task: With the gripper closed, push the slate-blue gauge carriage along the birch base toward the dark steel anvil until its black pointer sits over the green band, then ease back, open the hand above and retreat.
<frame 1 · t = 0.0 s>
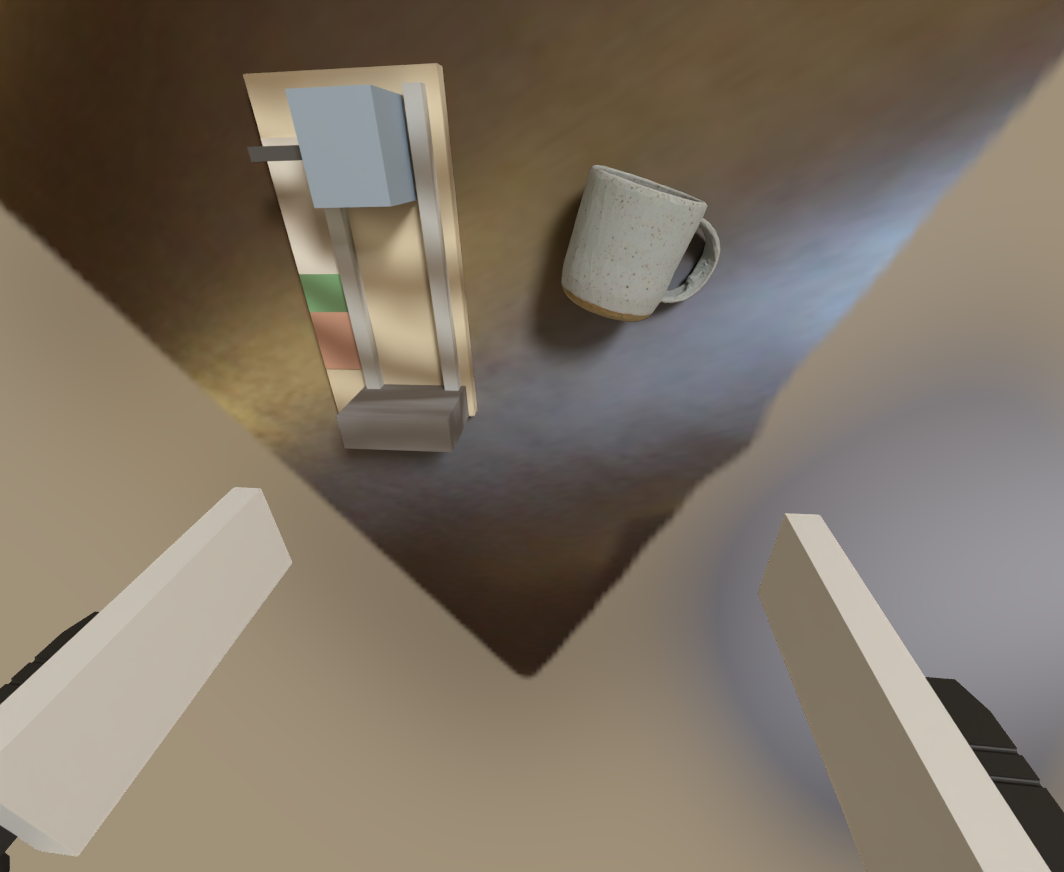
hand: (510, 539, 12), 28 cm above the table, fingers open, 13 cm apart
gauge base: (383, 270, 36), on the table
ceramic mug: (640, 239, 34), on the table
carriage: (326, 152, 29), point 4 cm above the table, slide at 0.0 cm
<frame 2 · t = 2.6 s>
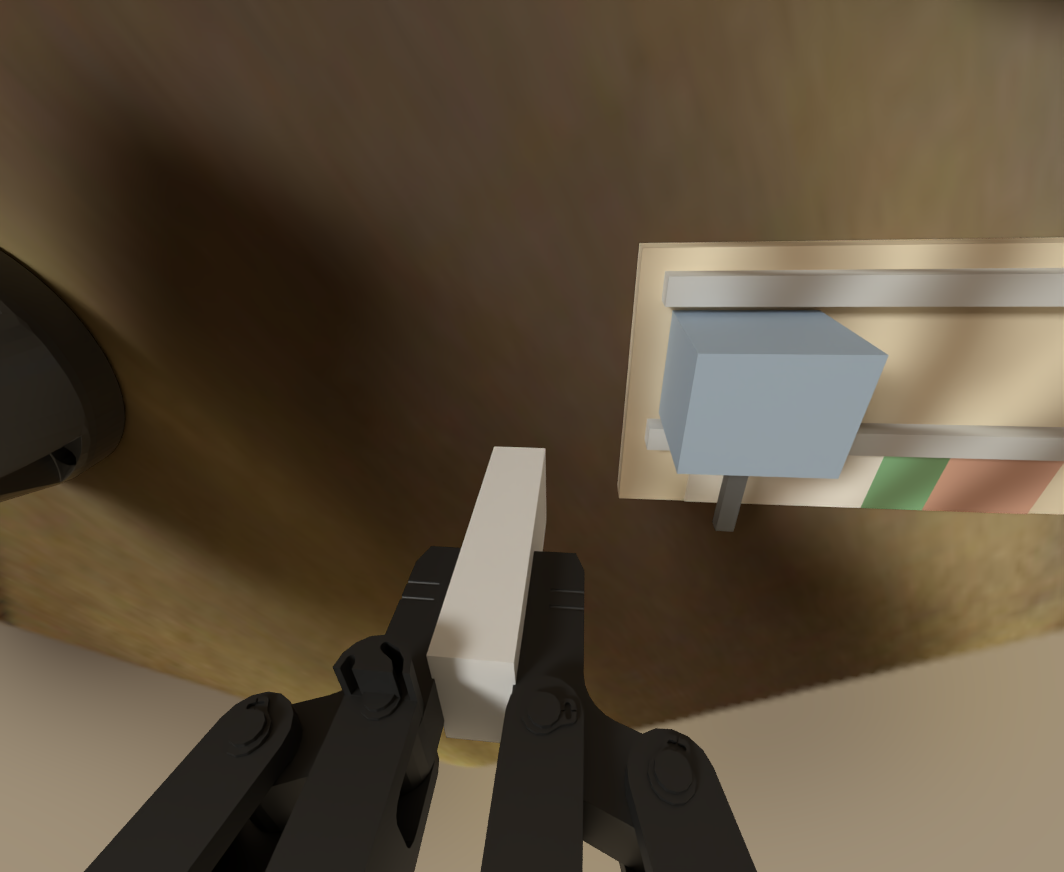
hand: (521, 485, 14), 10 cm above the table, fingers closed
gauge base: (892, 385, 22), on the table
carriage: (739, 434, 20), point 4 cm above the table, slide at 0.0 cm
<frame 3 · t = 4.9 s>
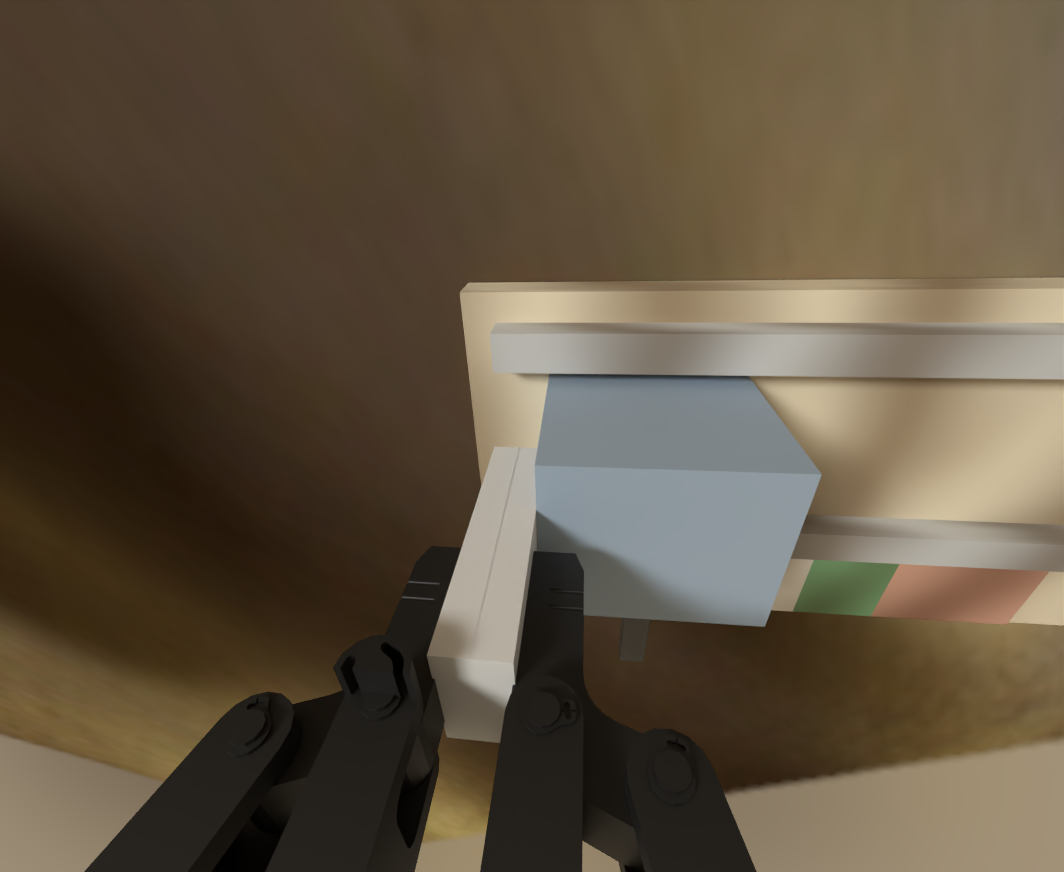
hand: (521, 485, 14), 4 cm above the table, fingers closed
gauge base: (824, 464, 16), on the table
carriage: (641, 543, 14), point 4 cm above the table, slide at 1.1 cm, touching gripper
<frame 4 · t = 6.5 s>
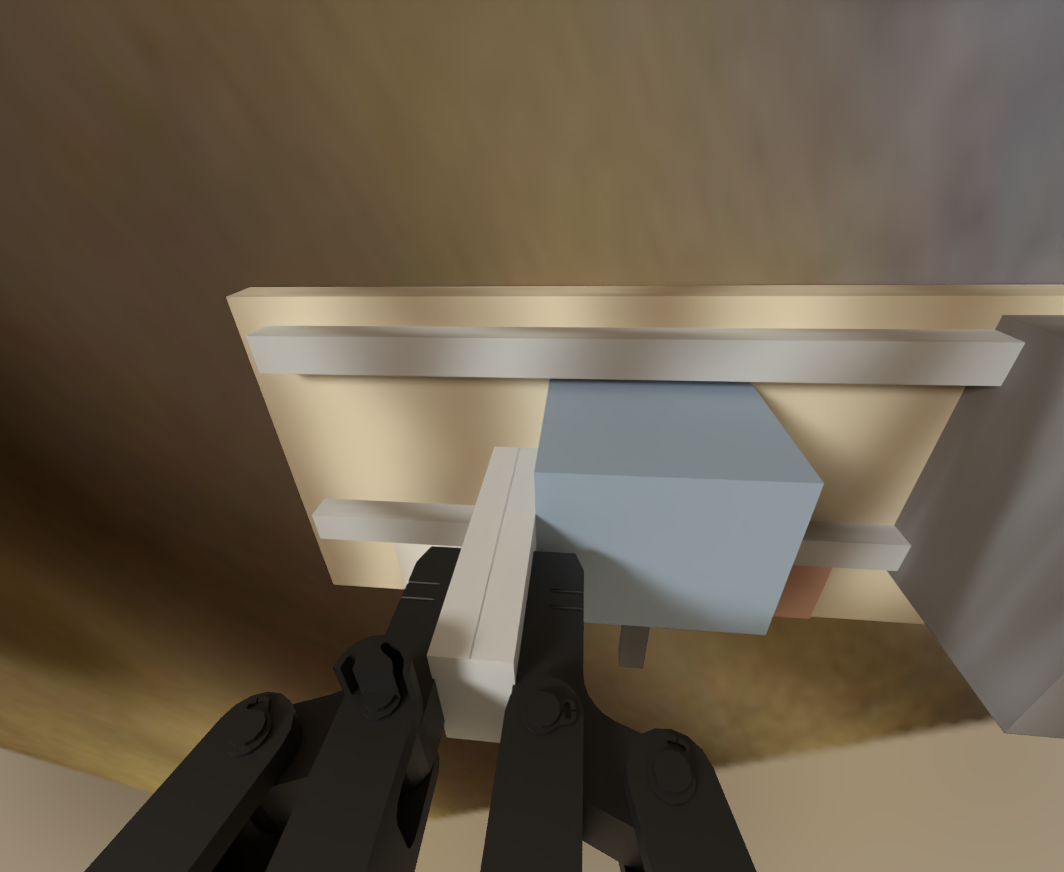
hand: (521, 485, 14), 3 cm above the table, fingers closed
gauge base: (619, 462, 17), on the table
carriage: (641, 549, 14), point 4 cm above the table, slide at 8.5 cm, touching gripper
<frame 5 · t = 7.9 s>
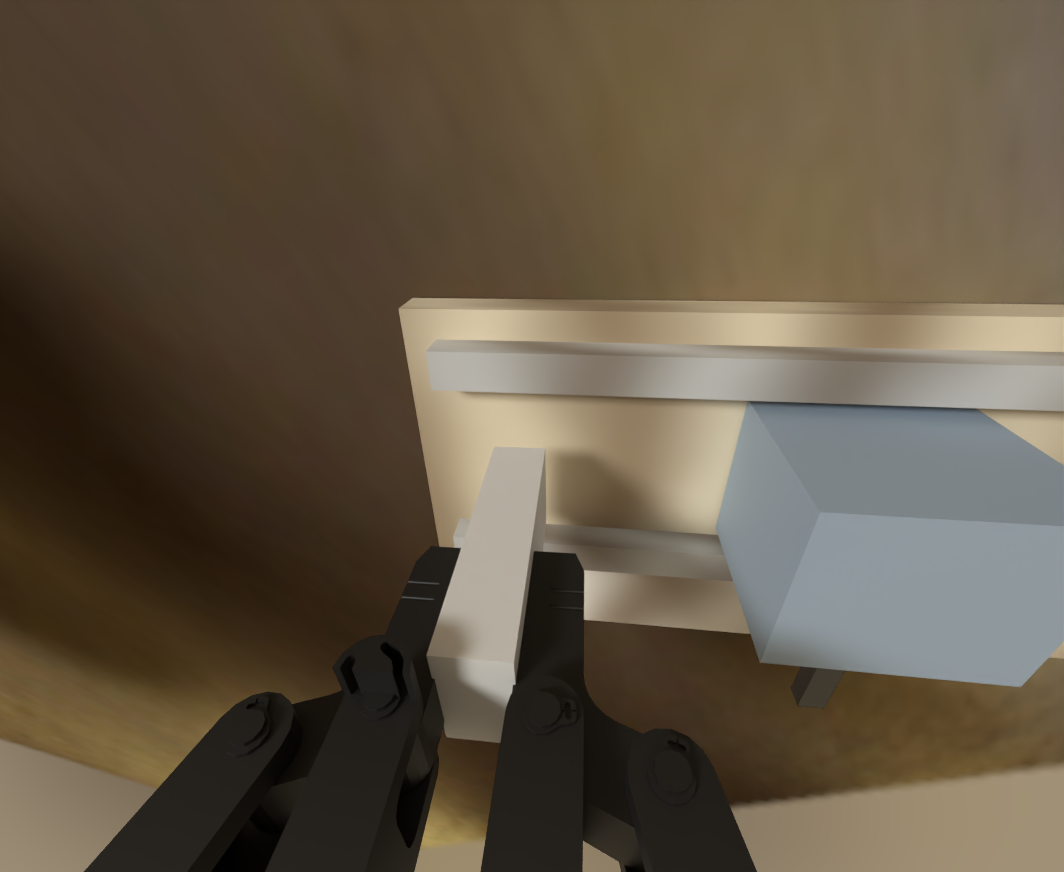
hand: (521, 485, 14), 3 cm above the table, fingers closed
gauge base: (779, 486, 16), on the table
carriage: (844, 584, 13), point 4 cm above the table, slide at 8.7 cm
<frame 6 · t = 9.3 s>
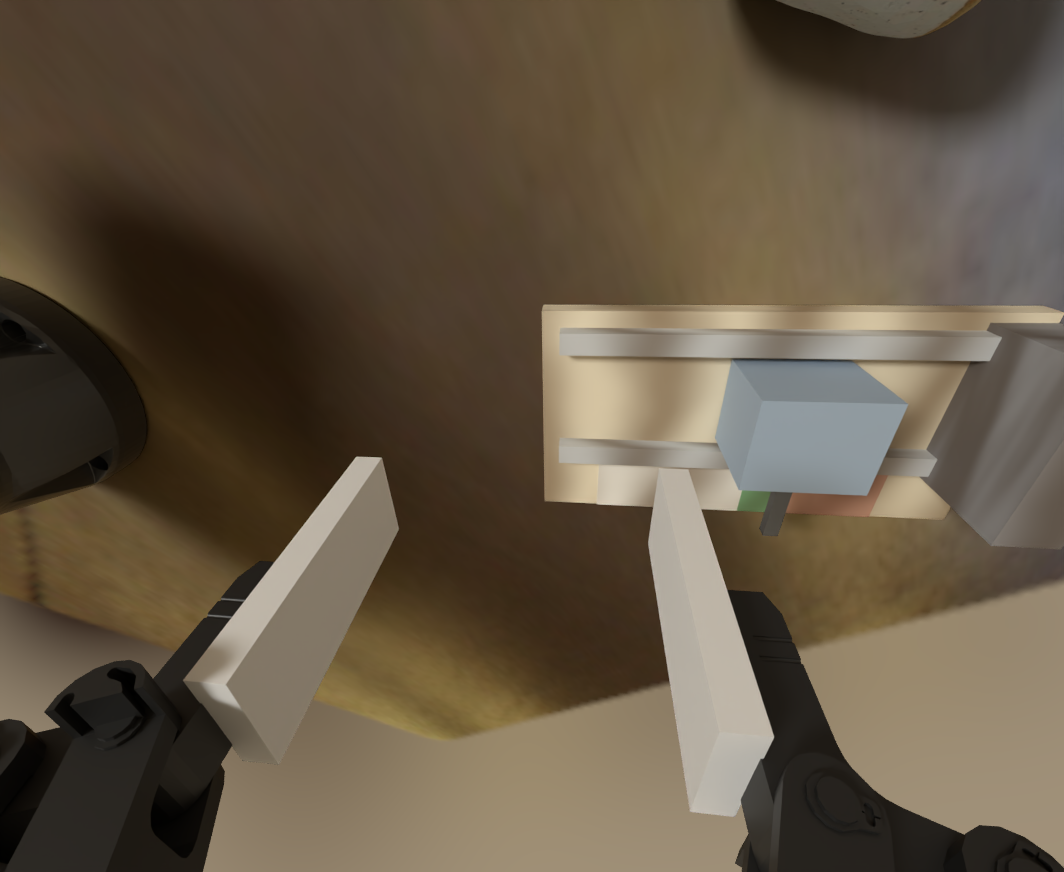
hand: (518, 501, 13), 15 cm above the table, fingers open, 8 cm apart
gauge base: (752, 413, 27), on the table
carriage: (785, 458, 24), point 4 cm above the table, slide at 8.7 cm
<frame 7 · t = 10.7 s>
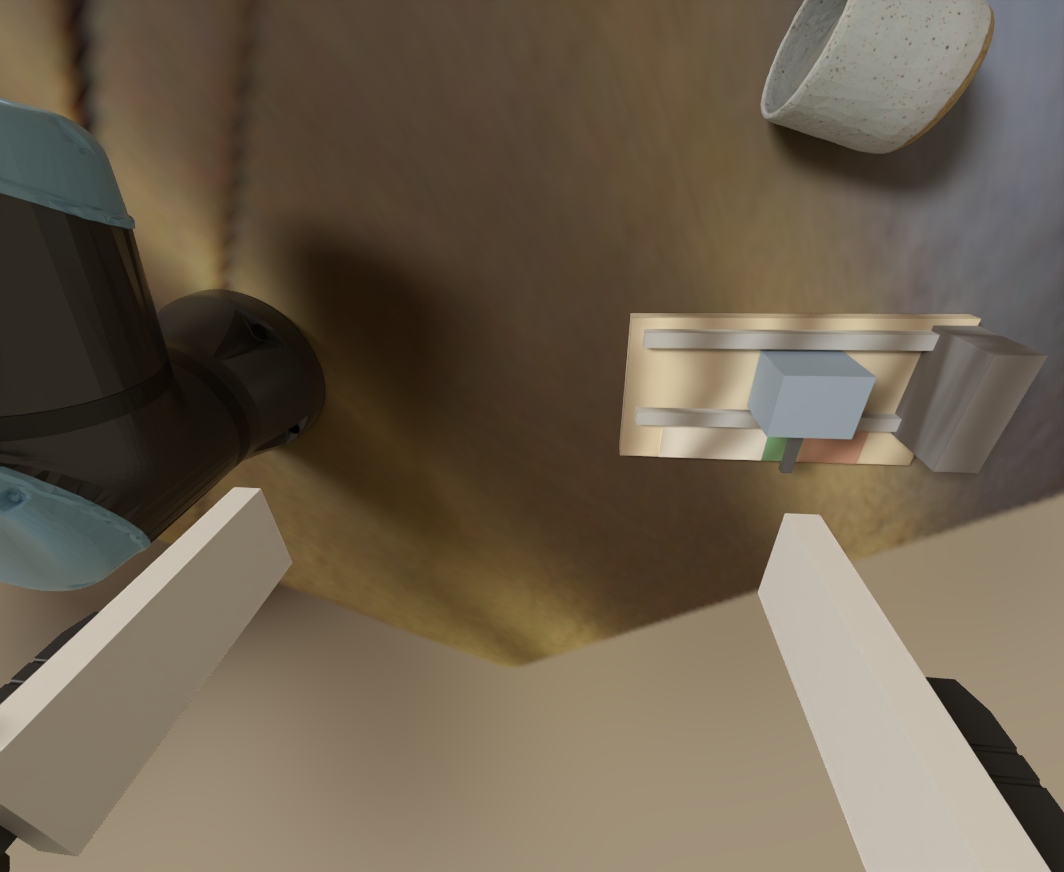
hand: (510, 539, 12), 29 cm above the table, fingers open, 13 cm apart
gauge base: (773, 389, 39), on the table
ceramic mug: (844, 44, 27), on the table
carriage: (797, 417, 36), point 4 cm above the table, slide at 8.7 cm
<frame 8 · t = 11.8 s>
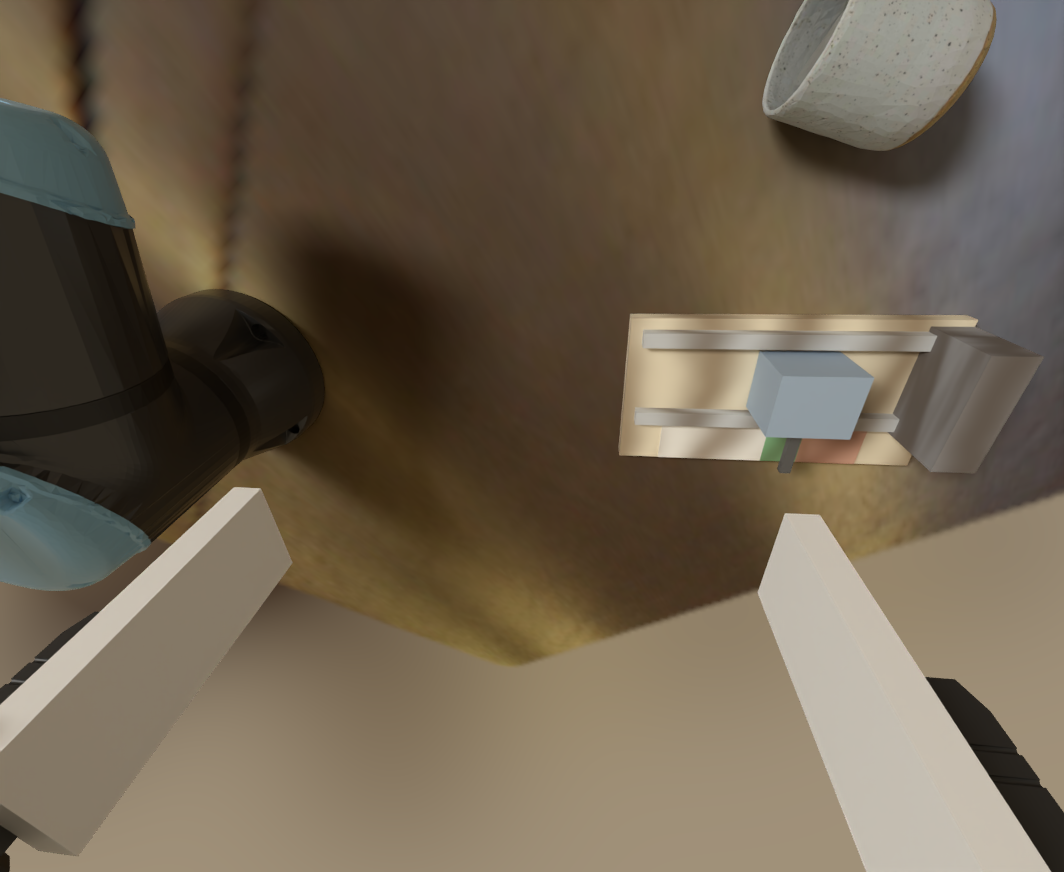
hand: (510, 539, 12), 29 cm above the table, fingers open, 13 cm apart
gauge base: (771, 389, 39), on the table
ceramic mug: (846, 41, 27), on the table
carriage: (795, 418, 36), point 4 cm above the table, slide at 8.7 cm
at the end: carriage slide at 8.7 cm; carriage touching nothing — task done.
